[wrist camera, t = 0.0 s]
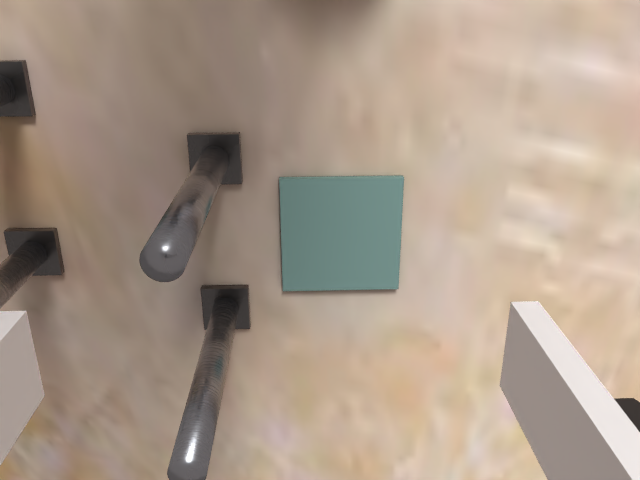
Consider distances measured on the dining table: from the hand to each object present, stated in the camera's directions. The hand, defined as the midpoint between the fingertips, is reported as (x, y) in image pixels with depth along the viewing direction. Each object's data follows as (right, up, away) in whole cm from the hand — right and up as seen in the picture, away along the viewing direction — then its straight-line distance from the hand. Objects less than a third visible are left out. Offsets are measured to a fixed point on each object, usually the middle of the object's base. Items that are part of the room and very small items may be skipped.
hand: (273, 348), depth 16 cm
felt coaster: (+3, +3, +29) cm, 29 cm away
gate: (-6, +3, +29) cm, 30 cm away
